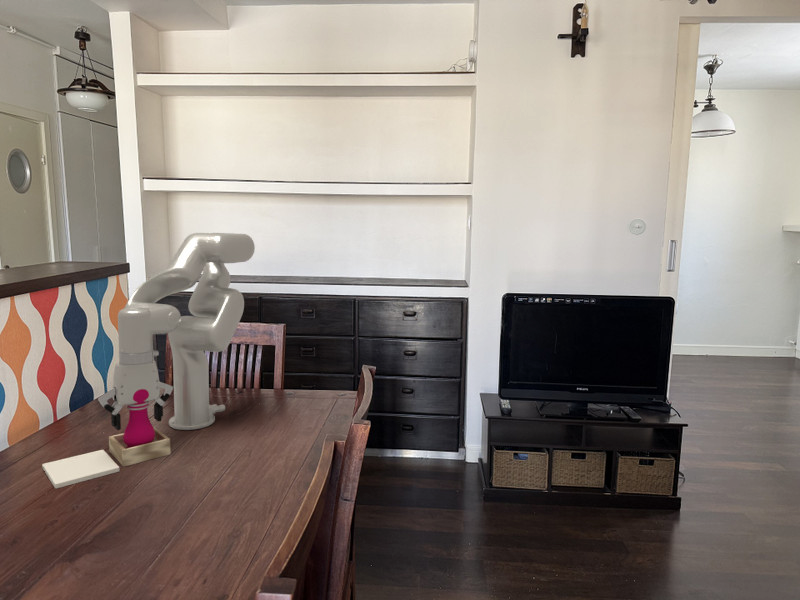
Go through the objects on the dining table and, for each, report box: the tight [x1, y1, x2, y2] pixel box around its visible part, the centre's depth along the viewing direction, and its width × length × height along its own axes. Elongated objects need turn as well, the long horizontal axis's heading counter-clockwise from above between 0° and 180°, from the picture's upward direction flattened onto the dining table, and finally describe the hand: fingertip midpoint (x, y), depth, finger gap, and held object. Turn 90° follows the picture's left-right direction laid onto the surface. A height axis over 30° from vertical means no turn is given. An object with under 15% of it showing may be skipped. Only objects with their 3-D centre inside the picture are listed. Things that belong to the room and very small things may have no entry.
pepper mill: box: [123, 389, 155, 449], centre depth 135 cm, size 7×7×20 cm
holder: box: [108, 425, 171, 467], centre depth 136 cm, size 11×11×4 cm
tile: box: [41, 449, 120, 490], centre depth 126 cm, size 13×13×1 cm
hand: (138, 424), depth 135 cm, fingers open, 9 cm apart
